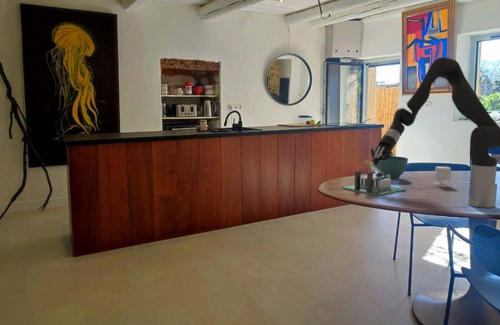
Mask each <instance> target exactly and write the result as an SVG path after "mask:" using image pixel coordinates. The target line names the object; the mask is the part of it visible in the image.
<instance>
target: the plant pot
mask: <svg viewBox="0 0 500 325" xmlns="http://www.w3.org/2000/svg"><path fill="white" fill-rule="evenodd" d="M385 157H386V156H385ZM408 162H409V159H408V157H403V156H396V155H395V156H394V155H392V156H391V157H389V158H387V159H385V160H384V161H382V160H381V161H379V163H378V164H377V165H376V166H377V167H378V168H379V169H380V170H381V171H382V172H383V173H384V174H385V175H390V179H391V180H398V179H399V178H400V177H401V176H402V175H403V173H404V172H405V170H406V169H407V166H408ZM382 178H384V177H382Z"/></svg>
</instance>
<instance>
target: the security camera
mask: <svg viewBox="0 0 500 325" xmlns="http://www.w3.org/2000/svg"><path fill="white" fill-rule="evenodd" d="M451 176H452V168H451V167H449V166H435V170H434V178H435V180H437V181H438V182H432V186H434V187H437V188H447V187H448V184H447V183H445V182H443V181H442V180H444V181H445V180H448V181H451V178H452V177H451Z"/></svg>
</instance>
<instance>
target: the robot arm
mask: <svg viewBox="0 0 500 325" xmlns="http://www.w3.org/2000/svg"><path fill="white" fill-rule="evenodd" d="M438 78H443V79H445V80H446V81H448V83H449V85H450V86H451V89H452V92H451V99H452V102H453V104H454V106H455V107H456V109H457V110H458V112H459V113H460V114H461V115H462V116H464V118H466V119H468V120H469V121H471V122H472V123H473V124H475V125H476V126H477V127H475V128H474V129H473V130H472V131H471V133H470V138H469V157H470V161H471V163H470V174H469V188H468V200H467V204H468V206H473V207H476V208H485V209H490V208H494V207H496V205H497V204H496V203H497V191H498V183H496V177H497V167H498V166H497V165H498V159H497V158H495V157H493V156H491V155H490V153H489V149H490V150H492V149H499V148H500V126H499V125H498V123H497V122H496V120H494V118H493V117H492V116H491V115H490V113H488V110H487V109H486V107H485V106H484V105H483V103H482V102H481V100H480V99H479V97H478V95H477V94H476V92H475V91H474V89H473V88H472V86H471V84H470V83H469V81H468V80H467V78H466V77H465V74H464V71H463V70H462V68H461V66H460V63H459V61H457V60H456V59H453V58H449V57H446V56H438V57H436V58H435V59H434V61H432V63H431V65H430V66H429V67H428V70H427V72H426V74H425V75H424V77H423V79H422V80H421V83H420V85H419V86H418V88H417V89H416V90H415V92H414V93H413V95H412V96H411V97H410V99H409V100H408V101H407V103H406V106H407V108H408V109H409V110H410V111H409V110H408V109H406V108H404V107H399V108H398V109H397V110H396V111H395V113H394V115H393V120H392V122H391V124H390V126H389V128H388V129H387V130H386V131H385V132H384V135H383V136H381V139H380V141H379V142H378V144H377V146H376V147H375V148H371V149H370V154H371V158H372V160H371V161H372V162H373V163H374V164H375V165H377V164H378V163H379V161H381V160H382V161H384V160H385V159H387V158H389V157H391V156H394V154H393V150H394V149H395V146H396V145H397V144H398V142H399V140H400V137H401V136H402V135H403V133H404V132H405V129H406V128H405V126H406V127H410V126H412V125H413V124H414V123H415V120H416V119H417V117H418V116H417V115H418V113H419V112H420V110H421V109H422V107H423V106H424V105H425V104H426V102H428V99H429V98H430V96H431V94H430V93H431V89H432V86H433V84H434V82H436V80H437V79H438ZM385 156H386V157H385Z"/></svg>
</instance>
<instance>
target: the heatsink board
mask: <svg viewBox="0 0 500 325" xmlns="http://www.w3.org/2000/svg"><path fill="white" fill-rule="evenodd" d="M361 174H362V173H361V170H355V171H354V184H353V185H346V186H342V187H341V189H343V190H347V191H350V192H351V191H352V192H356V193H360V194H361V193H362V194H364V195H365V194H366V195H369V196H374V197H382V196H386V195H390V194H396V193H397V194H398V193H402V192H406V191H407V189H406V188H400V187H395V186H391V185H392V184H391V183H392V179H390V175H386V178H383V177H379V176H378V175H377V174H376V173H375V175H374V172H367V173H366V176H361ZM373 175H374V176H373Z"/></svg>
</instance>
